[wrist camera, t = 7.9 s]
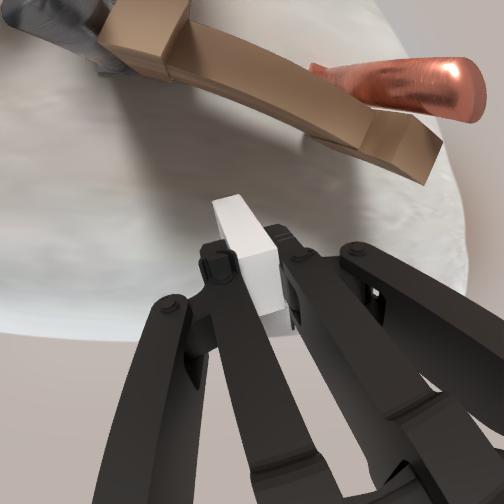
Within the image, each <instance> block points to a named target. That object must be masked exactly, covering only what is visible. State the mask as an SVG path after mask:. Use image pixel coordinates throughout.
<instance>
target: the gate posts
mask: <svg viewBox="0 0 504 504" xmlns="http://www.w3.org/2000/svg"><path fill="white" fill-rule="evenodd" d="M113 6H114V5H113V4H112V2H111V1H110V0H3V3H2V15H3V18H4V20H5V22H6V23H7V24H8V25H9V26H11V27H13V28H16V29H19V30H21V31H24V32H26V33H29V34H32V35H34V36H37V37H39V38H41V39H44V40H46V41H49V42H51V43H53V44H56V45H58V46H60V47H62V48H65V49H67V50H69V51H71V52H74V53H76V54H78V55H80V56H82V57H84V58H86V59H89V60H91V61H93V62H95V63H97V67H96V72H105V73H117V74H127V75H137V72H136V71H135V70H133V69H132V68H131V67H130V66H128V65H127V64H126V63H124V62H123V61H122V60H121V59H119V58H118V57H117V56H115V55H114V54H113V53H111V52H110V51H109V50H107V49H106V48H105V47H103V46H102V45H101V44H99V43H98V42H97V41H96V40H97V38H98V36H99V34H100V32H101V30H102V28H103V26H104V24H105V22H106V20H107V18H108V16H109V14H110V12H111V10H112V8H113ZM309 71H310V72H312V73H314V74H316V75H317V76H319V77H321V78H323V79H324V80H326V81H328V82H330V83H331V84H333V85H335V86H336V87H338V88H340V89H341V90H343V91H345V92H346V93H348V94H350V95H351V96H353V97H354V98H356V99H357V100H359V101H361V102H362V103H364V104H365V105H367V106H368V107H373V108H382V109H391V110H399V111H406V112H413V113H419V114H425V115H431V116H436V117H442V118H447V119H452V120H456V121H461V122H465V123H475V122H477V121H478V120H479V119H480V118H481V117H482V115H483V113H484V110H485V106H486V99H487V94H486V86H485V82H484V79H483V76H482V74H481V72H480V70H479V68H478V67H477V66H476V64H475V63H473V61H471V60H469V59H468V58H464V57H435V58H434V57H433V58H411V59H397V60H386V61H377V62H368V63H361V64H354V65H347V66H341V67H335V68H329V69H328V68H325V67H323V66H320V65H318V64H315V63H311V65H310V69H309Z"/></svg>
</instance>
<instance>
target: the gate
mask: <svg viewBox="0 0 504 504" xmlns="http://www.w3.org/2000/svg"><path fill="white" fill-rule="evenodd" d="M190 1H191V0H117V1H116V3H115V5H114V6H113V8H112V10H111V12H110V14H109V16H108V18H107V20H106V22H105V24H104V26H103V28H102V30H101V32H100V34H99V36H98V38H97V40H96V41H97V42H98V43H99V44H101V45H102V46H103V47H105V48H106V49H107V50H109V51H110V52H111V53H113V54H114V55H115V56H117V57H118V58H119V59H121V60H122V61H123V62H124V63H126V64H127V65H128V66H130V67H131V68H132V69H133V70H135V71H136V72H137V73H138V74H140V75H144V76H147V77H151V78H154V79H158V80H161V81H164V82H167V83H171V84H172V82H173V80H177V81H180V82H183V83H186V84H189V85H192V86H195V87H197V88H200V89H203V90H206V91H209V92H211V93H214V94H217V95H220V96H222V97H225V98H227V99H230V100H233V101H235V102H238V103H240V104H243V105H245V106H247V107H250V108H252V109H255V110H257V111H259V112H262V113H264V114H266V115H269V116H271V117H273V118H275V119H277V120H280V121H282V122H284V123H286V124H288V125H290V126H293V127H295V128H297V129H299V130H301V131H303V132H305V133H306V134H305V135H306V136H308V137H310V138H312V139H314V140H316V141H318V142H320V143H322V144H324V145H326V146H327V147H329V148H331V149H333V150H336V151H339V152H342V153H345V154H348V155H350V156H353V157H356V158H358V159H361V160H364V161H366V162H369V163H371V164H374V165H376V166H379V167H381V168H384V169H386V170H389V171H391V172H394V173H396V174H398V175H401V176H403V177H405V178H408V179H410V180H412V181H414V182H417V183H419V184H421V185H423V186H424V185H425V183H426V181H427V179H428V176H429V174H430V172H431V170H432V167H433V165H434V163H435V160H436V158H437V156H438V153H439V151H440V149H441V146H442V144H443V141H442V140H441V139H440V138H439V137H438V136H436V135H435V134H434V133H433V132H432V131H431V130H430V129H429V128H427V127H426V126H425V125H424V124H423V123H422V122H420V121H419V120H418V119H417V118H416V117H415V116H413V115H411V114H405V113H398V112H391V111H383V110H375V109H371V108H370V107H368V106H367V105H365V104H364V103H362V102H361V101H359V100H357V99H356V98H354V97H353V96H351V95H350V94H348V93H346V92H345V91H343V90H341V89H340V88H338V87H336V86H335V85H333V84H331V83H330V82H328V81H326V80H324V79H323V78H321V77H319V76H317V75H316V74H314V73H312V72H310V71H308V70H306V69H304V68H302V67H301V66H299V65H297V64H295V63H293V62H291V61H289V60H287V59H285V58H283V57H281V56H279V55H276V54H274V53H272V52H270V51H268V50H266V49H263V48H261V47H259V46H257V45H254V44H252V43H250V42H247V41H245V40H242V39H240V38H237V37H235V36H232V35H230V34H227V33H225V32H222V31H219V30H216V29H214V28H211V27H208V26H205V25H202V24H199V23H196V22H193V21H190V20H188V19H189V10H190Z"/></svg>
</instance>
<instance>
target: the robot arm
mask: <svg viewBox="0 0 504 504" xmlns="http://www.w3.org/2000/svg"><path fill="white" fill-rule="evenodd" d="M212 204H213V208H214V212H215V216H216V220H217V224H218V228H219V232H220V237H221V240H218V241H214V242H211V243H207V244H203V246H202V247H201V249H200V256H201V258H200V260H199V263H198V265H199V268H200V271H201V274H202V277H203V281H204V284H205V286H204V288H203V289H202V290H201V291H200V292H199V293H198V294H197V295H195V296H193V297H191V298H189V299H187V298H186V297H185V296H183V295H180V294H172V295H167V296H165V297H163V298H161V299H159V300H158V301H157V302H156V303H154V305H153V306H152V308H151V311H150V313H149V316H148V319H147V321H146V324H145V327H144V329H143V332H142V335H141V338H140V340H139V343H138V346H137V349H136V352H135V354H134V358H133V360H132V363H131V367H130V369H129V372H128V375H127V378H126V381H125V384H124V387H123V390H122V393H121V397H120V400H119V403H118V406H117V410H116V413H115V416H114V420H113V423H112V426H111V430H110V433H109V437H108V440H107V444H106V448H105V452H104V455H103V459H102V463H101V467H100V471H99V475H98V479H97V483H96V488H95V492H94V496H93V501H92V504H193V499H194V487H195V477H196V467H197V455H198V447H199V437H200V427H201V419H202V410H203V401H204V393H205V385H206V376H207V368H208V359H209V354H208V352H210V351H211V350H213V349H215V348H217V347H218V348H219V353H220V357H221V362H222V365H223V370H224V374H225V378H226V382H227V386H228V390H229V394H230V398H231V402H232V406H233V410H234V413H235V417H236V421H237V425H238V428H239V432H240V436H241V439H242V443H243V447H244V450H245V454H246V457H247V461H248V464H249V468H250V479H251V484H252V487H253V491H254V495H255V498H256V501H257V504H504V450H501V449H497V448H494V447H493V446H492V445H491V443H490V442H489V440H488V439H487V438H486V436H485V435H484V433H483V432H482V431H481V429H480V428H479V427H478V425H477V424H476V423H475V422H474V420H473V419H472V417H471V416H470V415H469V413H470V414H471V415H472V416H474V417H475V418H476V419H477V420H479V421H480V422H482V423H483V424H484V425H485V426H487V427H488V428H490V429H491V430H493V431H495V432H497V433H499V434H501V435H503V436H504V320H502V319H501V318H499V317H498V316H496V315H494V314H493V313H491V312H490V311H488V310H486V309H485V308H483V307H481V306H480V305H478V304H476V303H475V302H473V301H471V300H469V299H468V298H466V297H465V296H463V295H461V294H460V293H458V292H456V291H454V290H453V289H451V288H449V287H447V286H446V285H444V284H442V283H440V282H439V281H437V280H435V279H433V278H432V277H430V276H428V275H426V274H424V273H423V272H421V271H419V270H417V269H415V268H414V267H412V266H410V265H408V264H406V263H404V262H402V261H401V260H399V259H397V258H395V257H393V256H391V255H389V254H387V253H385V252H384V251H382V250H380V249H378V248H376V247H374V246H372V245H370V244H367V243H364V242H351V243H348V244H345V245H344V246H342V247H341V249H340V256H332V257H321V256H320V255H319V254H318V252H316V251H315V250H314V249H311V248H304V247H303V246H302V245H301V244H300V243H299V241H298V240H297V239H296V238H295V237H294V236H293V234H292V233H290V231H289V230H288V229H287V228H286V227H285V226H282V225H280V224H275V225H271V226H267V227H262V226H261V224H260V223H259V221H258V220H257V218H256V217H255V216H254V214H253V213H252V211H251V210H250V209H249V207H248V206H247V204H246V203H245V202H244V200H243V199H242V197H241V196H240V194H237V195H233V196H229V197H225V198H222V199H218V200H214V201H212ZM373 288H374V289H376V290H377V291H379V296H376V295H375V294H373ZM285 300H286V301H287V303H288V305H289V312H290V320H291V327H292V330H295V327H294V325H295V326H296V328H297V330H298V332H299V333H300V335H301V337H302V339H303V341H304V342H305V345H306V346H307V348H308V350H309V352H310V354H311V356H312V357H313V359H314V361H315V363H316V365H317V367H318V369H319V371H320V373H321V374H322V376H323V378H324V380H325V382H326V384H327V386H328V387H329V389H330V391H331V393H332V395H333V397H334V399H335V401H336V403H337V404H338V406H339V408H340V410H341V412H342V414H343V416H344V418H345V419H346V421H347V423H348V425H349V427H350V429H351V430H352V433H353V434H354V436H355V438H356V440H357V442H358V444H359V445H360V447H361V450H362V451H363V453H364V455H365V457H366V459H367V462H368V466H369V473H370V476H371V479H372V481H373V483H374V485H375V487H376V489H377V491H374V492H370V493H366V494H361V495H357V496H351V497H346V498H343V496H342V494H341V492H340V490H339V488H338V485H337V483H336V481H335V479H334V477H333V475H332V472H331V470H330V468H329V467H328V464H327V462H326V460H325V459H324V457H323V456H322V454H321V453H319V452H318V451H317V449H316V447H315V445H314V443H313V441H312V439H311V437H310V434H309V432H308V430H307V427H306V425H305V423H304V421H303V418H302V416H301V414H300V411H299V409H298V407H297V405H296V403H295V400H294V398H293V395H292V393H291V391H290V388H289V386H288V384H287V382H286V379H285V377H284V375H283V372H282V370H281V368H280V365H279V363H278V361H277V358H276V356H275V353H274V351H273V349H272V346H271V345H270V342H269V339H268V337H267V335H266V332H265V330H264V327H263V325H262V323H261V320H260V318H259V316H263V315H266V314H269V313H273V312H276V311H279V310H282V309H286V304H285ZM419 373H420V374H421V375H422V376H424V377H425V378H426V379H427V380H429V381H430V382H431V383H432V384H434V385H435V386H436V387H438V388H439V389H440V390H441V391H442V392H435V391H433V390H432V389H431V388H430V387H429V385H428V384H427V383H426V382H425V380H424V379H423V378H422V376H421V375H420V374H419ZM468 412H469V413H468Z"/></svg>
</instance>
